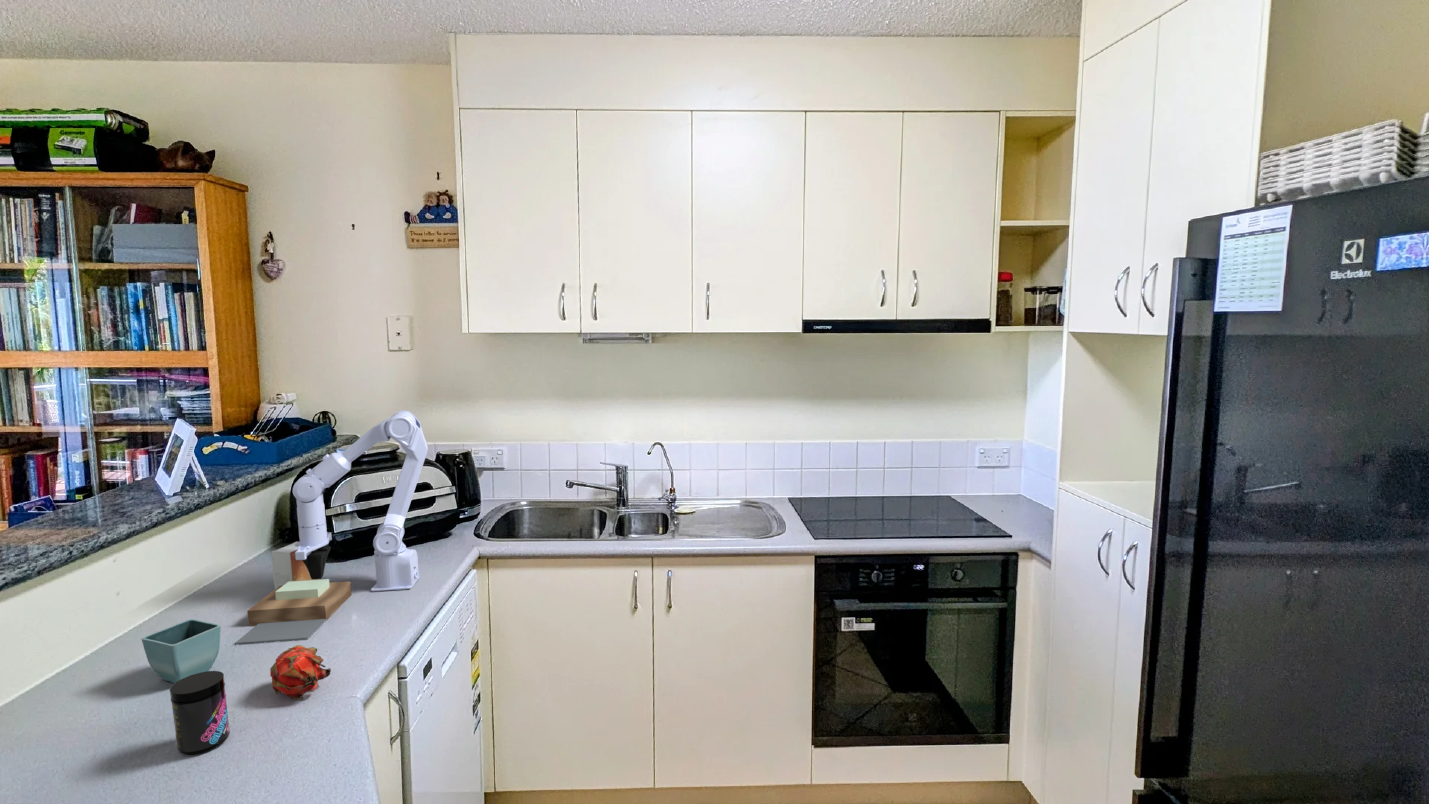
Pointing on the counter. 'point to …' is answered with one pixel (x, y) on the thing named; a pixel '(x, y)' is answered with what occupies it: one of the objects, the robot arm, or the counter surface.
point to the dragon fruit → (297, 671)
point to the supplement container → (200, 712)
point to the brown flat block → (299, 606)
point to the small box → (288, 566)
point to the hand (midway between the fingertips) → (317, 578)
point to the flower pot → (183, 649)
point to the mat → (281, 631)
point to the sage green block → (302, 589)
